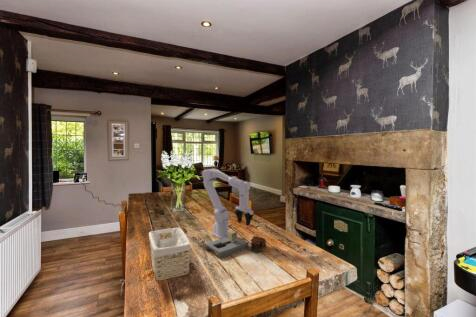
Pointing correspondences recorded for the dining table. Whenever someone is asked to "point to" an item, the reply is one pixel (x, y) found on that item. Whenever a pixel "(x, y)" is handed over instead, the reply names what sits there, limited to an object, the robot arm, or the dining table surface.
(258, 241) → the dark wooden box
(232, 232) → the brass peg
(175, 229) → the storage basket
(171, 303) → the dining table surface
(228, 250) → the keyhole plate
